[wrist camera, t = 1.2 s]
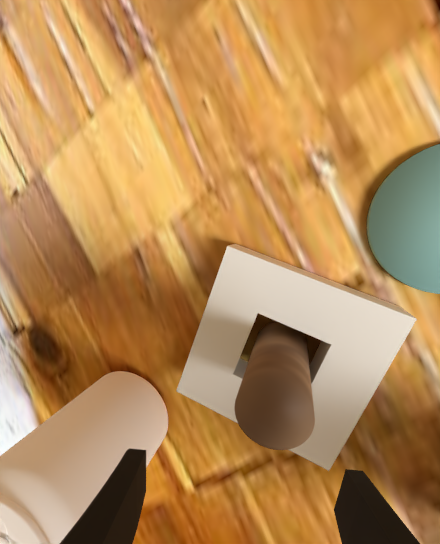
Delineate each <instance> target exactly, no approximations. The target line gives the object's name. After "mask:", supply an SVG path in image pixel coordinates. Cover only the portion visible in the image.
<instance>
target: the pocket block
mask: <svg viewBox="0 0 440 544" xmlns="http://www.w3.org/2000/svg"><path fill="white" fill-rule="evenodd" d="M258 313H259V314H261V315H263V316H266V317H268V318H270V319H273V320H275V321H277V322H280V323H282V324H284V325H287V326H289V327H291V328H294V329H296V330H298V331H301V332H303V333H305V334H308V335H310V336H312V337H315V338H317V339H319V340H322V341H321V343H320V345H319V347H318V349H317V351H316V353H315V355H314V357H313V359H312V361H311V363H310V366H309V369H310V378H311V387H312V396H313V405H314V414H315V425H314V429H313V431H312V434H311V435H310V437H309V438H308V439H307V440H306V441H305V442H304V443H303V444H301V445H300V446H298V447H295V448H292V449H288V450H290V451H292V452H294V453H296V454H298V455H300V456H302V457H303V458H305V459H307V460H309V461H311V462H313V463H315V464H317V465H319V466H321V467H323V468H325V469H326V470H328V471H329V470H330V469H331V467H332V465H333V463H334V462H335V460H336V458H337V456H338V455H339V453H340V451H341V449H342V448H343V446H344V444H345V443H346V441H347V439H348V437H349V436H350V434H351V432H352V430H353V429H354V427H355V425H356V424H357V422H358V420H359V418H360V417H361V415H362V413H363V411H364V410H365V408H366V406H367V404H368V403H369V401H370V399H371V398H372V396H373V394H374V392H375V391H376V389H377V387H378V385H379V384H380V382H381V380H382V378H383V377H384V375H385V373H386V372H387V370H388V368H389V366H390V365H391V363H392V361H393V359H394V358H395V356H396V354H397V352H398V351H399V349H400V347H401V346H402V344H403V342H404V340H405V339H406V337H407V335H408V333H409V332H410V330H411V328H412V326H413V325H414V323H415V321H416V320H417V319H416V318H415V317H413V316H412V315H411V314H409V313H408V312H407V311H405V310H404V309H403V308H401V307H400V306H397V305H394V304H392V303H389V302H387V301H384V300H381V299H379V298H376V297H374V296H371V295H368V294H366V293H363V292H360V291H358V290H355V289H353V288H350V287H347V286H345V285H342V284H340V283H337V282H334V281H332V280H329V279H326V278H324V277H321V276H319V275H316V274H313V273H311V272H308V271H305V270H303V269H300V268H298V267H295V266H292V265H290V264H287V263H285V262H282V261H279V260H277V259H274V258H271V257H269V256H266V255H264V254H261V253H258V252H256V251H253V250H251V249H248V248H245V247H243V246H240V245H237V244H232V245H229V246H227V248H226V251H225V254H224V257H223V260H222V263H221V265H220V268H219V271H218V274H217V277H216V280H215V282H214V285H213V288H212V291H211V294H210V297H209V300H208V302H207V305H206V308H205V311H204V314H203V317H202V319H201V322H200V325H199V328H198V331H197V334H196V337H195V339H194V342H193V345H192V348H191V351H190V354H189V356H188V359H187V362H186V365H185V368H184V371H183V374H182V376H181V379H180V382H179V385H178V388H177V392H179V393H181V394H183V395H185V396H186V397H188V398H190V399H192V400H194V401H196V402H198V403H200V404H202V405H204V406H206V407H208V408H209V409H211V410H213V411H215V412H217V413H219V414H221V415H223V416H225V417H227V418H229V419H231V420H233V421H234V422H236V423H238V422H237V419H236V416H235V410H234V407H235V400H236V397H237V394H238V391H239V388H240V385H241V382H242V379H243V376H244V373H245V370H246V367H247V364H248V362H247V361H245V360H243V359H241V358H240V356H241V353H242V351H243V349H244V346H245V344H246V341H247V339H248V336H249V334H250V331H251V329H252V326H253V324H254V322H255V319H256V317H257V314H258Z"/></svg>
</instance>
